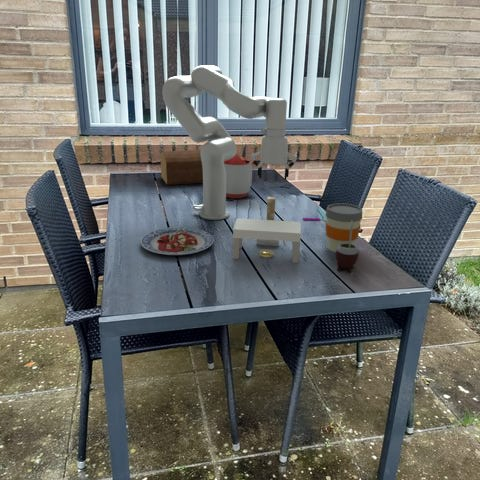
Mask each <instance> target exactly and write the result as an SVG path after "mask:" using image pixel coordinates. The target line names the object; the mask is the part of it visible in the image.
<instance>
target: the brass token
mask: <svg viewBox="0 0 480 480" xmlns="http://www.w3.org/2000/svg"><path fill="white" fill-rule="evenodd" d="M258 255H259V257H261V258H264V259H269V258H273V257H274V255H275V254H274V251H273V250H271V249H261V250H259V251H258Z"/></svg>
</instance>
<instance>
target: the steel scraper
mask: <svg viewBox="0 0 480 480" xmlns="http://www.w3.org/2000/svg"><path fill="white" fill-rule="evenodd" d="M266 202H267V203H266V204H267V205H266V220H274V221H275V215H276V214H275V212H276V196H267V201H266ZM255 244H256V245H257V246H272V247H279V245H280V241H277V240H261V239H256V243H255Z"/></svg>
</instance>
